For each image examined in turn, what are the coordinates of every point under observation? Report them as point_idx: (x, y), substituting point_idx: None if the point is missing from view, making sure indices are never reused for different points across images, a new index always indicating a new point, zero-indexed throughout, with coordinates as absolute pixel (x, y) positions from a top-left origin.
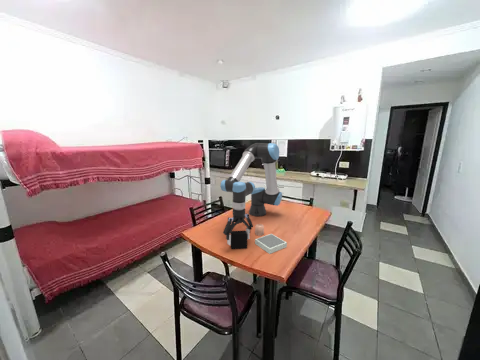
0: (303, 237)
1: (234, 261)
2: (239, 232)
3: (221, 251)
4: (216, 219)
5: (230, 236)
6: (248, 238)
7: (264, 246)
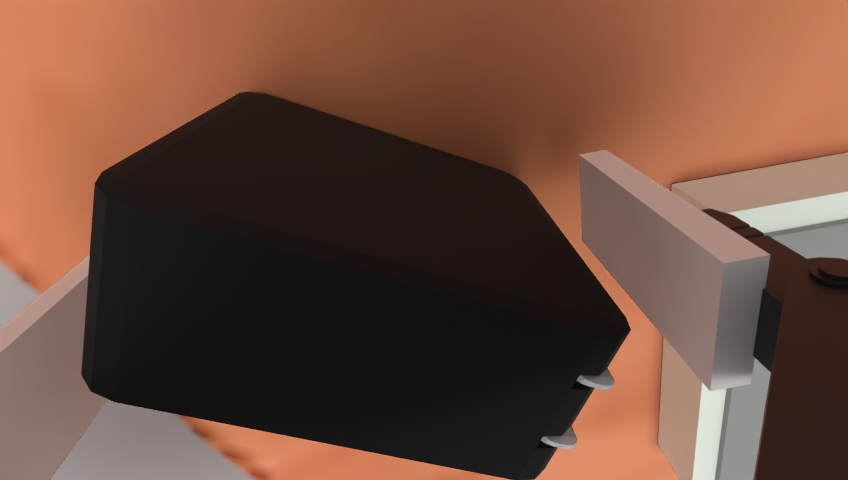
0: None
1: (216, 441)
2: (372, 386)
3: (58, 199)
4: None
5: (48, 473)
6: (593, 249)
7: (691, 411)
